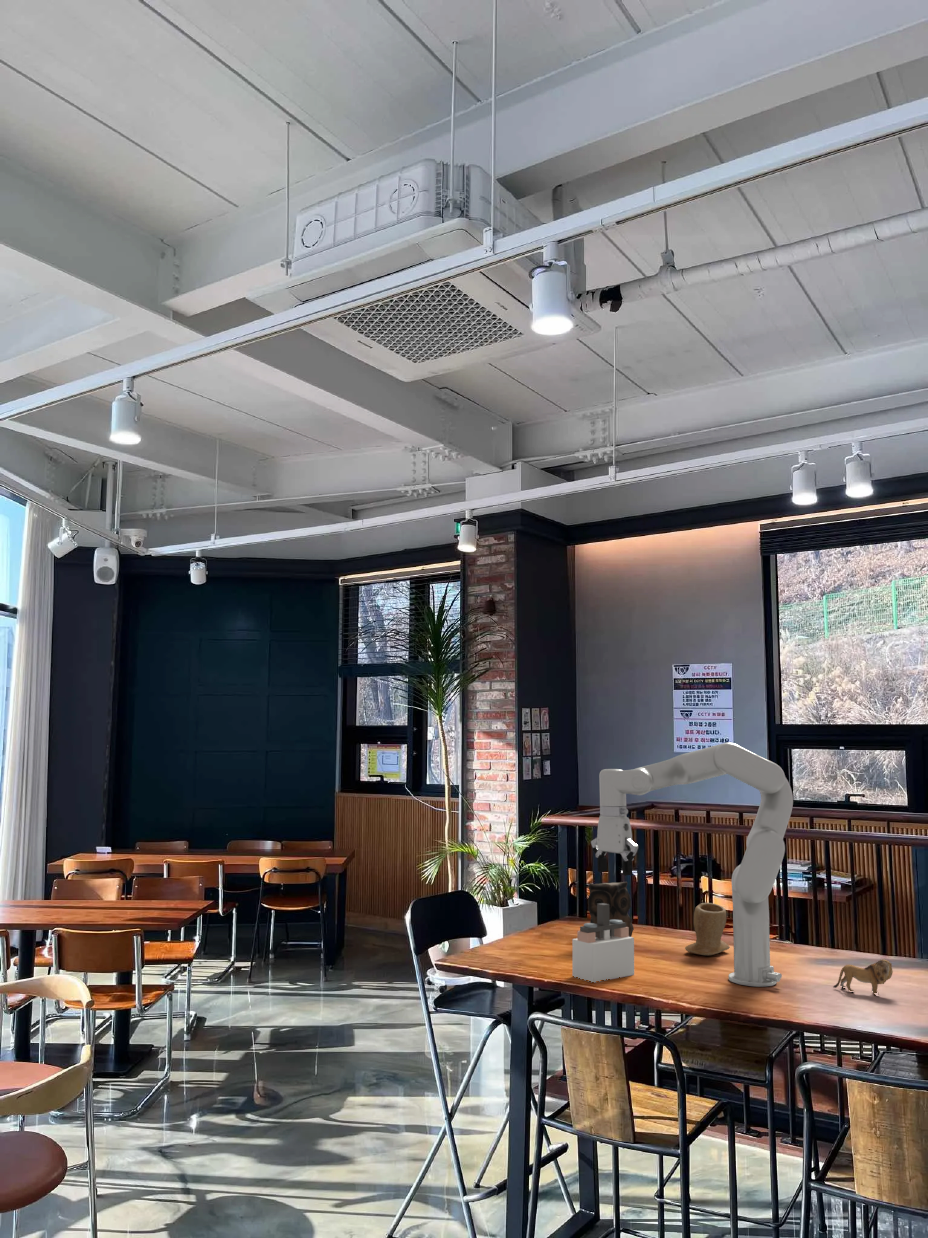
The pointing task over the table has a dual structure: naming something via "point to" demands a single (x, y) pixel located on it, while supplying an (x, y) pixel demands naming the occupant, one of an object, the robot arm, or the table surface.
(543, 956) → the table surface
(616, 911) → the owl
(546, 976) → the table surface
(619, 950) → the white toy brick
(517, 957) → the table surface
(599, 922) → the bar with two balls
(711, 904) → the stone cup
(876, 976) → the lion figurine
